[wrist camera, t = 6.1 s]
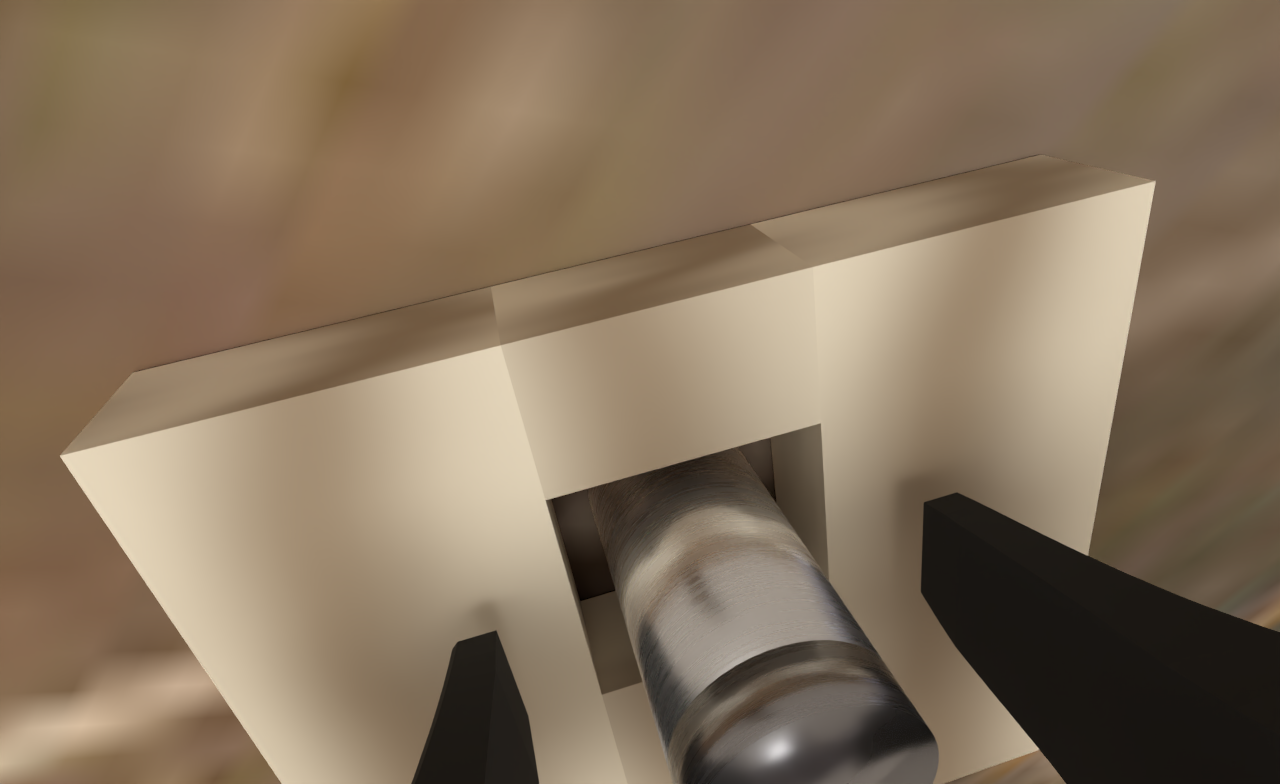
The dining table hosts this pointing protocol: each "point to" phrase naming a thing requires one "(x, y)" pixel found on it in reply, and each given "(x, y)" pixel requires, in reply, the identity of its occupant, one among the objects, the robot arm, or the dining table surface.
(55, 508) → the dining table surface
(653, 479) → the steel pin
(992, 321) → the block
